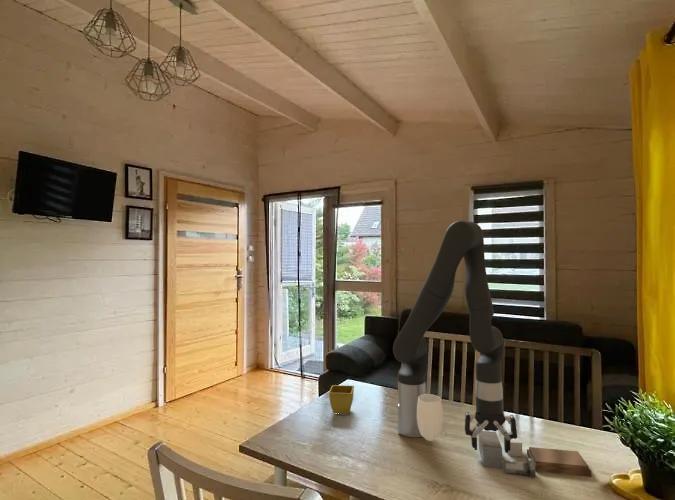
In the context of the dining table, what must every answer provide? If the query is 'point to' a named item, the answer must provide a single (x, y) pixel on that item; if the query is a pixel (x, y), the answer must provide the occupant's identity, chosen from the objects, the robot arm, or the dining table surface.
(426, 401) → the cup
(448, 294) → the robot arm
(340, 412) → the flower pot
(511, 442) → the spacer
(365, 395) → the dining table surface
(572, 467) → the stand
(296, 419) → the dining table surface
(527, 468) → the bolt
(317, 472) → the dining table surface
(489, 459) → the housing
